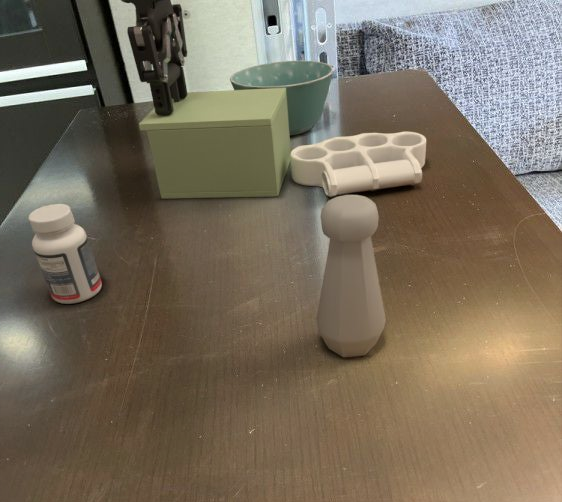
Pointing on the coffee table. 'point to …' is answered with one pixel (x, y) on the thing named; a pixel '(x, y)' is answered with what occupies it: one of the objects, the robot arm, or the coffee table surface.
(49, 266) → the pill bottle
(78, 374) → the coffee table surface
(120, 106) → the coffee table surface
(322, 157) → the knuckle duster
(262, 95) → the bin lid
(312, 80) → the bowl
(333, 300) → the salt shaker
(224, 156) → the bin
